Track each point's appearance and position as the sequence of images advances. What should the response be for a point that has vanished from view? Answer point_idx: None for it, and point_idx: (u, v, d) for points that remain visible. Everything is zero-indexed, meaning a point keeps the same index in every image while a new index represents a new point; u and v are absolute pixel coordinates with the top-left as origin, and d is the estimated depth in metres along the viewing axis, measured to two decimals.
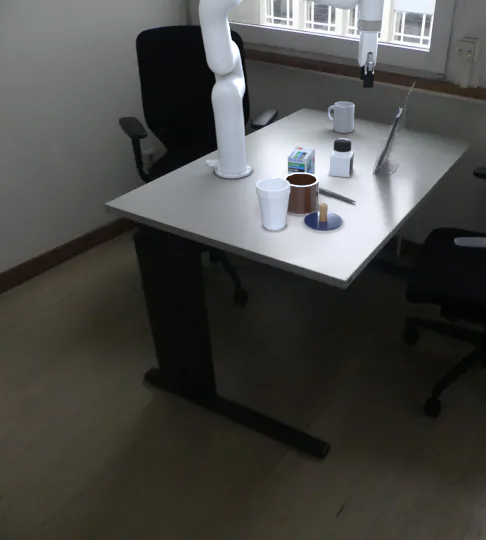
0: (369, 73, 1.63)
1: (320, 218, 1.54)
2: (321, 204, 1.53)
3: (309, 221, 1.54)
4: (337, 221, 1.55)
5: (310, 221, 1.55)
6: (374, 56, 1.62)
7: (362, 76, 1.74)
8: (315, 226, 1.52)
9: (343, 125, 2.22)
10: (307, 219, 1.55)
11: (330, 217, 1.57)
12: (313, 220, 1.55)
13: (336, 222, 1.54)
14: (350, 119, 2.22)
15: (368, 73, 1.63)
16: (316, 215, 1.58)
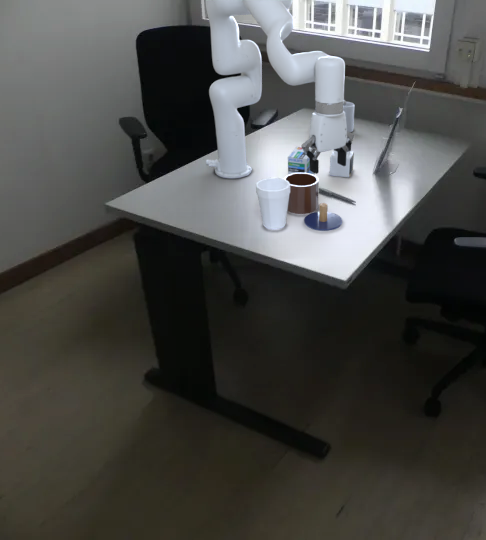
0: (309, 157, 1.43)
1: (320, 218, 1.54)
2: (321, 204, 1.53)
3: (309, 221, 1.54)
4: (337, 221, 1.55)
5: (310, 221, 1.55)
6: (317, 141, 1.41)
7: (338, 160, 1.51)
8: (315, 226, 1.52)
9: None
10: (307, 219, 1.55)
11: (330, 217, 1.57)
12: (313, 220, 1.55)
13: (336, 222, 1.54)
14: (350, 119, 2.22)
15: None
16: (316, 215, 1.58)
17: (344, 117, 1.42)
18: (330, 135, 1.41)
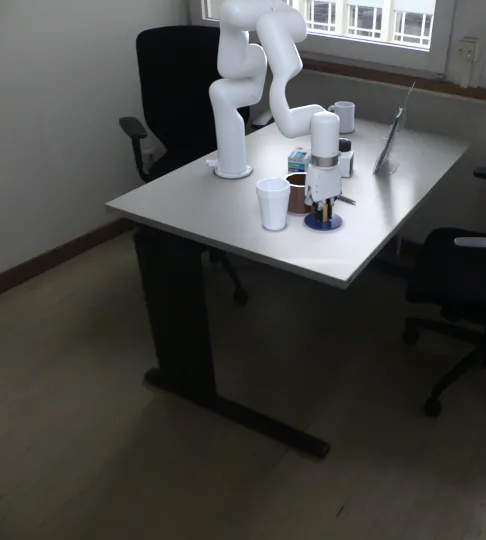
0: (314, 207, 1.51)
1: None
2: None
3: (309, 221, 1.54)
4: (337, 221, 1.55)
5: (310, 220, 1.55)
6: (312, 191, 1.46)
7: None
8: (315, 226, 1.52)
9: (343, 125, 2.22)
10: (307, 219, 1.55)
11: None
12: (313, 220, 1.55)
13: (336, 222, 1.54)
14: (350, 119, 2.22)
15: (314, 207, 1.51)
16: None
17: (339, 168, 1.47)
18: (325, 186, 1.46)
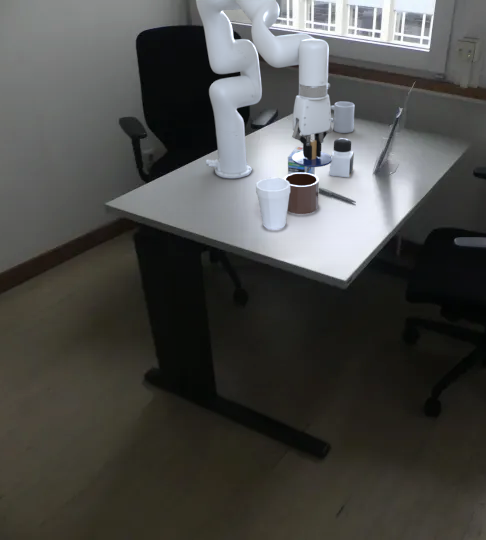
0: (303, 143, 1.46)
1: None
2: (310, 140, 1.47)
3: (297, 159, 1.49)
4: (327, 159, 1.49)
5: (299, 158, 1.49)
6: (300, 124, 1.41)
7: None
8: (303, 163, 1.47)
9: (343, 125, 2.22)
10: (295, 157, 1.50)
11: None
12: (302, 157, 1.50)
13: (325, 160, 1.49)
14: (350, 119, 2.22)
15: (302, 142, 1.46)
16: None
17: (328, 101, 1.42)
18: (314, 118, 1.41)
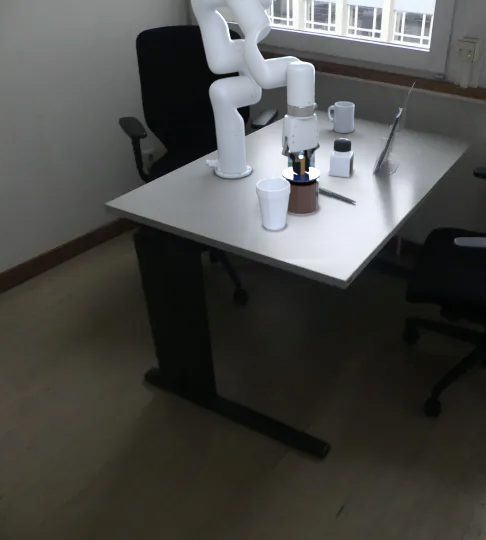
0: (292, 159, 1.53)
1: None
2: (299, 156, 1.55)
3: (287, 174, 1.56)
4: (315, 174, 1.57)
5: (288, 173, 1.57)
6: (289, 142, 1.48)
7: None
8: (293, 178, 1.54)
9: (343, 125, 2.22)
10: (285, 172, 1.58)
11: None
12: (291, 173, 1.57)
13: (314, 175, 1.57)
14: (350, 119, 2.22)
15: (291, 159, 1.54)
16: None
17: (315, 119, 1.49)
18: (302, 136, 1.49)
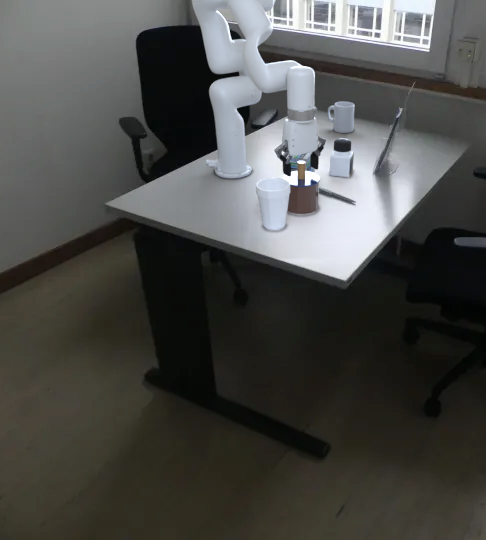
0: (282, 161, 1.52)
1: (298, 176, 1.57)
2: (299, 161, 1.56)
3: (287, 179, 1.57)
4: (315, 179, 1.58)
5: (289, 178, 1.58)
6: (289, 145, 1.49)
7: (311, 163, 1.60)
8: (293, 183, 1.55)
9: (343, 125, 2.22)
10: (285, 177, 1.58)
11: (308, 175, 1.60)
12: (291, 177, 1.58)
13: (314, 180, 1.57)
14: (350, 119, 2.22)
15: (281, 160, 1.52)
16: (295, 174, 1.61)
17: (315, 123, 1.50)
18: (302, 140, 1.49)
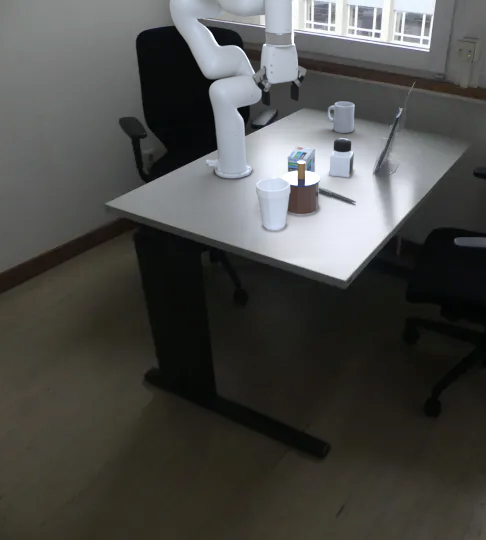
0: (260, 88, 1.48)
1: (298, 176, 1.57)
2: (299, 161, 1.56)
3: (287, 179, 1.57)
4: (315, 179, 1.58)
5: (289, 178, 1.58)
6: (267, 71, 1.45)
7: (291, 95, 1.56)
8: (293, 183, 1.55)
9: (343, 125, 2.22)
10: (285, 177, 1.58)
11: (308, 175, 1.60)
12: (291, 177, 1.58)
13: (314, 180, 1.57)
14: (350, 119, 2.22)
15: (260, 88, 1.48)
16: (295, 174, 1.61)
17: (294, 50, 1.46)
18: (280, 67, 1.46)
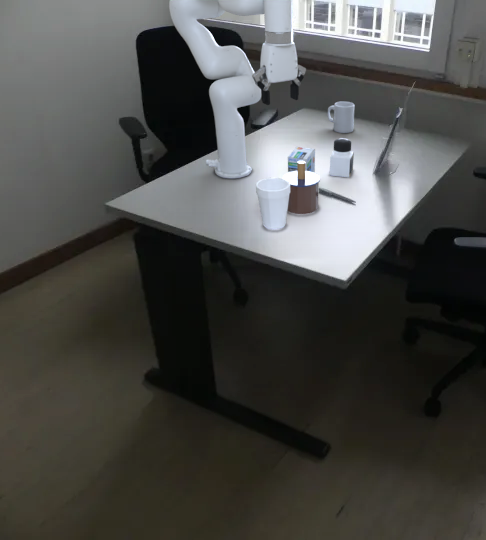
0: (260, 88, 1.48)
1: (298, 176, 1.57)
2: (299, 161, 1.56)
3: (287, 179, 1.57)
4: (315, 179, 1.58)
5: (289, 178, 1.58)
6: (267, 71, 1.45)
7: (291, 94, 1.56)
8: (293, 183, 1.55)
9: (343, 125, 2.22)
10: (285, 177, 1.58)
11: (308, 175, 1.60)
12: (291, 177, 1.58)
13: (314, 180, 1.57)
14: (350, 119, 2.22)
15: (260, 87, 1.48)
16: (295, 174, 1.61)
17: (294, 48, 1.46)
18: (280, 66, 1.46)
